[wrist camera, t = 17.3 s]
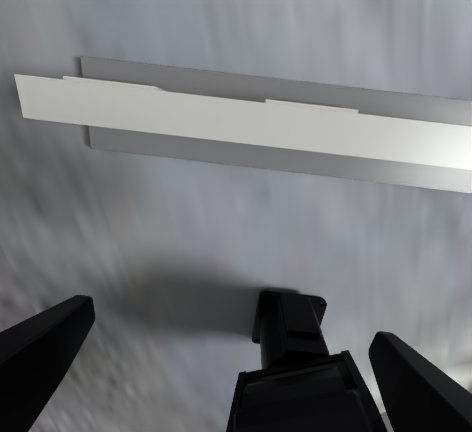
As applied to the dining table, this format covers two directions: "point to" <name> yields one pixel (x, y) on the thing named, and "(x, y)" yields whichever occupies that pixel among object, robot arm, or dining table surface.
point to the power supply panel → (261, 122)
